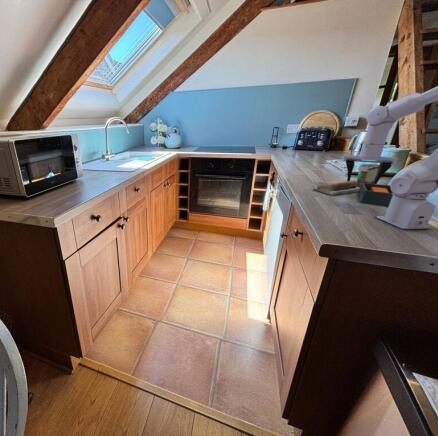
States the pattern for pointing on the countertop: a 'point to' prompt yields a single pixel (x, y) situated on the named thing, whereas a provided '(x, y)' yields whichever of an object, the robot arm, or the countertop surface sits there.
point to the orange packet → (379, 189)
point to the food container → (367, 173)
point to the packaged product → (337, 187)
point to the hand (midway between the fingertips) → (361, 182)
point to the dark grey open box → (374, 194)
